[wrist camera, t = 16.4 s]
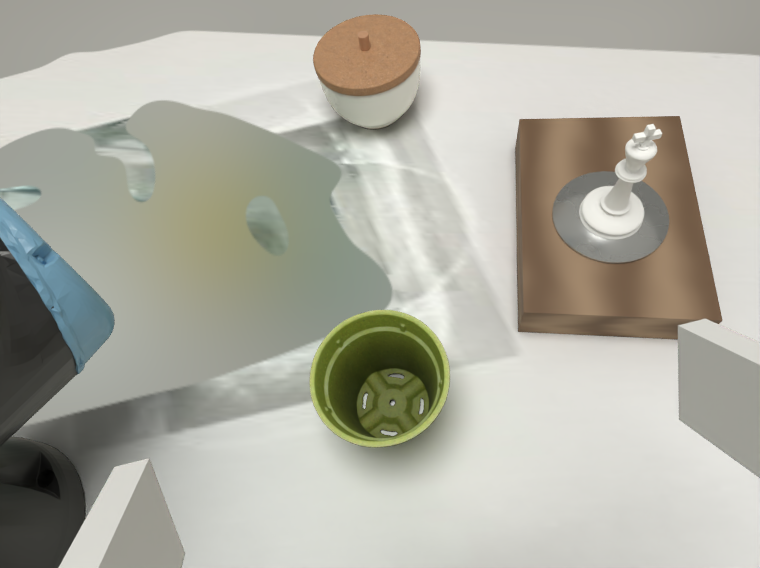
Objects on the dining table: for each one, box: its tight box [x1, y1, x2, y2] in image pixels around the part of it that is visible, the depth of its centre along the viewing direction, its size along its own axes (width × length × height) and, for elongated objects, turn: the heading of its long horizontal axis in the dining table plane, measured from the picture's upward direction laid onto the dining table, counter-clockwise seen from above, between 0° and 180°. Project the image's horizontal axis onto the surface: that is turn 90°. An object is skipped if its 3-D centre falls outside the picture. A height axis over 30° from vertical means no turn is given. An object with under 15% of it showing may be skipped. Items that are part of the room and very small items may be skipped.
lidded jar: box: [313, 15, 421, 129], centre depth 53 cm, size 11×11×9 cm
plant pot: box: [310, 310, 450, 447], centre depth 38 cm, size 9×9×9 cm
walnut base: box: [515, 116, 722, 339], centre depth 44 cm, size 14×20×4 cm
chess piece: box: [579, 124, 662, 240], centre depth 37 cm, size 5×5×10 cm
